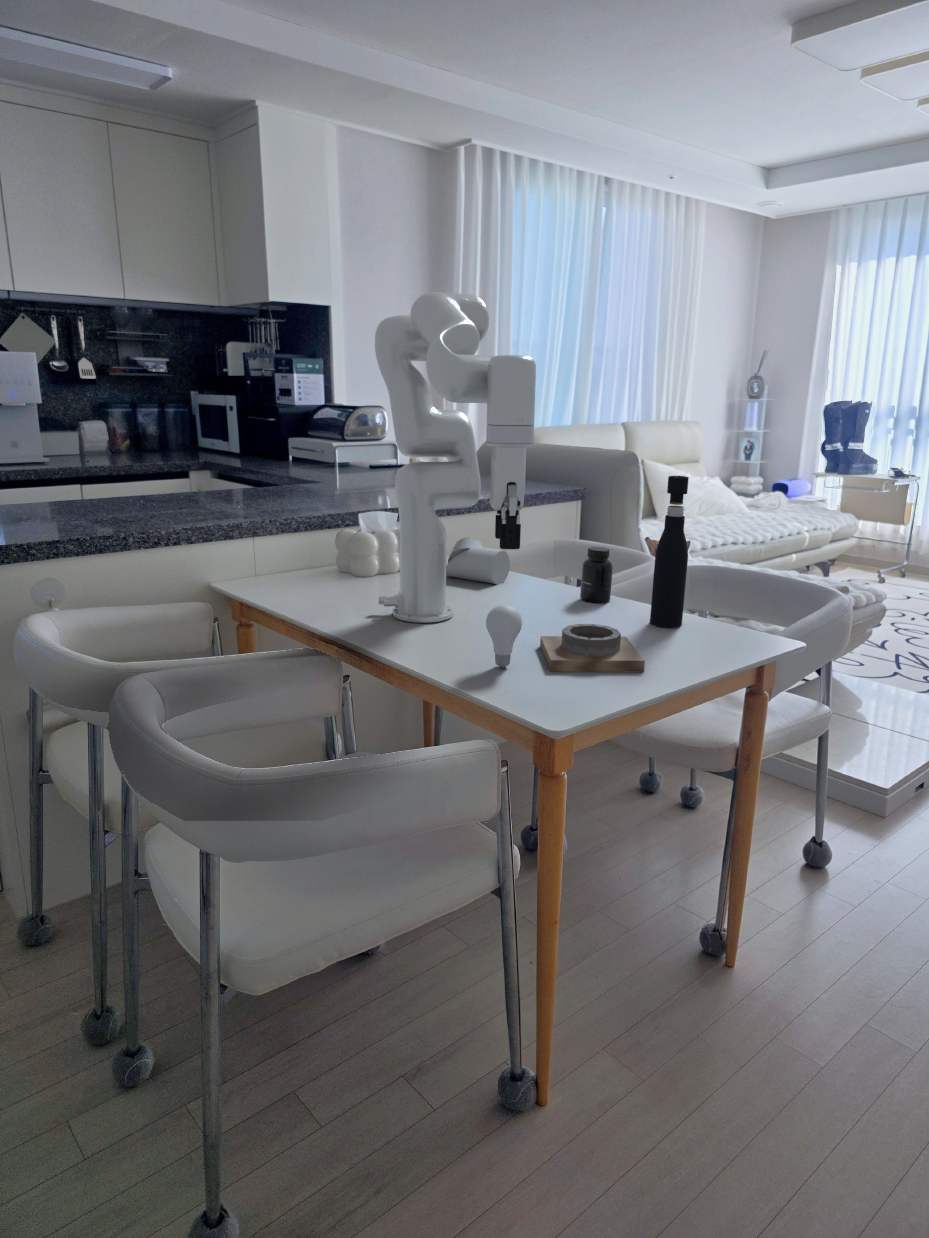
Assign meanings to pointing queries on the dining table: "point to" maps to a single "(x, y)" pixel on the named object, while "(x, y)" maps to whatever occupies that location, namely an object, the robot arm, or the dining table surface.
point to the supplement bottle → (596, 576)
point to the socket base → (591, 650)
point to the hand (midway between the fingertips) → (507, 543)
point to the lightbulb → (503, 631)
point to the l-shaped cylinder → (477, 562)
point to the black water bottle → (671, 561)
